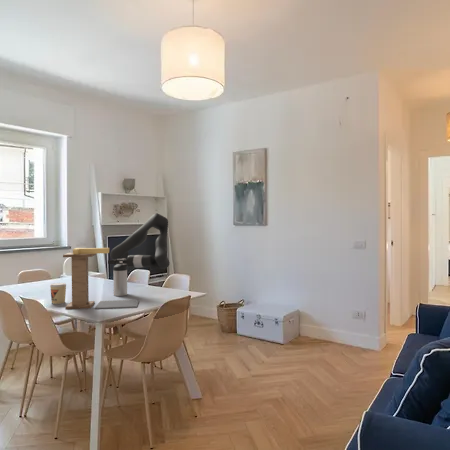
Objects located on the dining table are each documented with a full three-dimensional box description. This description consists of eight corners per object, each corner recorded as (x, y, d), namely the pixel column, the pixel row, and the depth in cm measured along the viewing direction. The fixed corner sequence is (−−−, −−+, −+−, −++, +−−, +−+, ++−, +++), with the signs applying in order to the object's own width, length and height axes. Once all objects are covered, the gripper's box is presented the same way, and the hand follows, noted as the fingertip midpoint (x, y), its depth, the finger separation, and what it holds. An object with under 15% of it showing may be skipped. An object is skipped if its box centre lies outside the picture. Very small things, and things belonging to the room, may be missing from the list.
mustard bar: (76, 252, 241) (76, 248, 241) (110, 252, 244) (110, 247, 244) (72, 254, 231) (72, 249, 231) (107, 253, 234) (107, 248, 234)
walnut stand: (69, 304, 243) (68, 252, 242) (96, 303, 245) (95, 252, 245) (63, 309, 229) (63, 254, 229) (92, 308, 231) (91, 254, 231)
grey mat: (100, 302, 249) (100, 300, 249) (138, 300, 252) (138, 299, 252) (94, 309, 229) (94, 307, 229) (136, 307, 232) (136, 306, 232)
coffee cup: (47, 303, 246) (47, 284, 246) (60, 300, 254) (60, 282, 254) (56, 305, 241) (55, 285, 241) (69, 302, 249) (69, 283, 249)
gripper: (141, 254, 243) (117, 255, 246) (131, 255, 229) (105, 255, 232) (141, 266, 243) (117, 267, 246) (131, 268, 229) (106, 268, 232)
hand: (111, 261), depth 239 cm, fingers open, 8 cm apart
